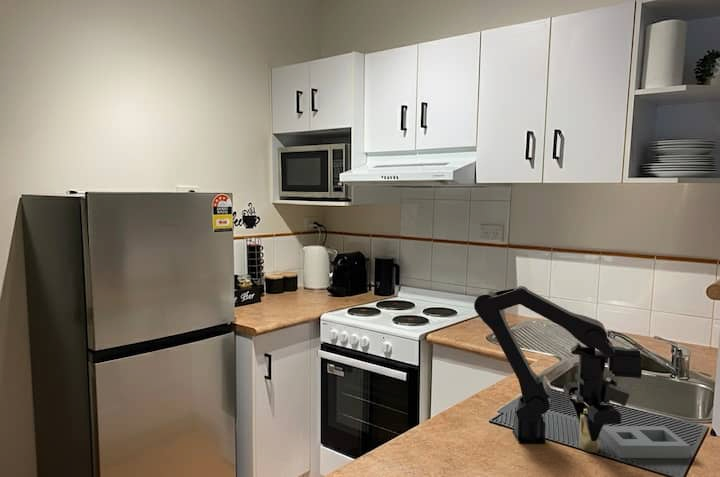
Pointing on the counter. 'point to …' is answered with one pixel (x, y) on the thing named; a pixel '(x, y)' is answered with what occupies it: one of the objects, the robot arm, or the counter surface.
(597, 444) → the brass fitting
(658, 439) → the socket block
